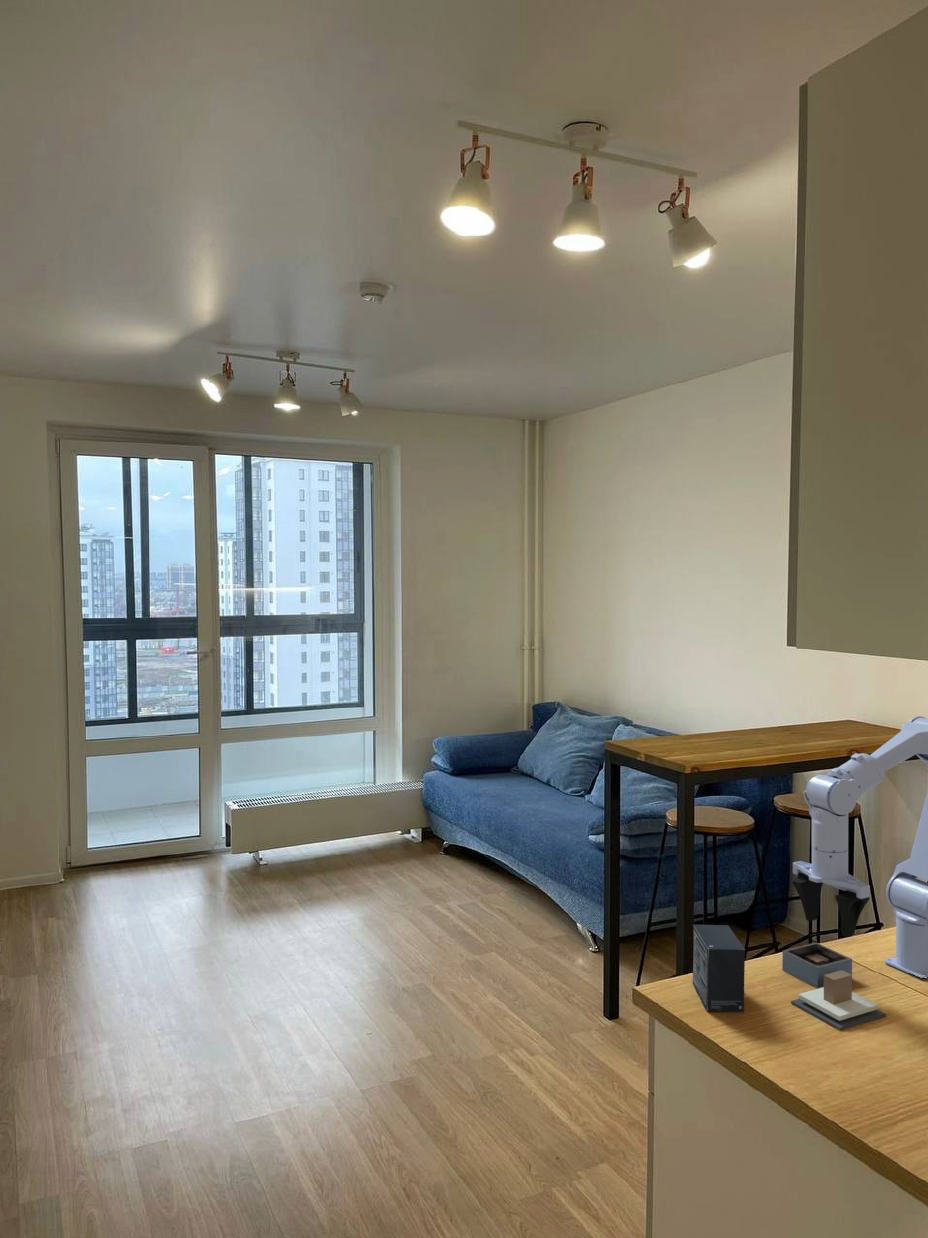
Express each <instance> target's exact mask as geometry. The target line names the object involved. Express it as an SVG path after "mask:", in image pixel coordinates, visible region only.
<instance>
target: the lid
mask: <svg viewBox="0 0 928 1238" xmlns="http://www.w3.org/2000/svg"><path fill="white" fill-rule="evenodd" d="M797 995H798V996H797V997H798V998H797V999H800V1000H802V1001H804V1002H806V1003H808V1004H809V1005H811V1006H813V1007H815V1008H817V1009H819V1010H821V1011H822V1012H824V1013H826V1014H828V1015H830V1016H832V1017H833V1018H835V1019H837V1020H839V1021H841V1020H844V1019H847V1018H850V1017H854V1016H857V1015H860V1014H864V1013H867V1012H870V1011H874V1010H879V1004H878V1003H877V1002H873V1001H872V1000H869V999H867V998H865V997H863V996H862V995H860V994H857V993H856V992H853V974H852V975H851V974H849V973H847V972H845V971H843V970H841V971H837V972H833V973H830V974H826V975H824V987H821V988H816V989H812V990H809V991H806V992H801V993H798V994H797Z"/></svg>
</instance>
